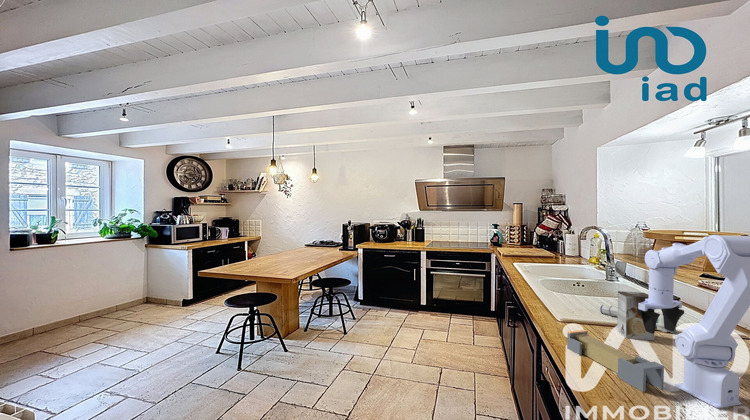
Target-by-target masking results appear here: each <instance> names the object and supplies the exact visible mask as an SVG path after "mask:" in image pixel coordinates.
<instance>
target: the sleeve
mask: <svg viewBox="0 0 750 420" xmlns="http://www.w3.org/2000/svg"><path fill="white" fill-rule="evenodd" d="M634 358H635V359H636V364H632V363H630V362H628V361H627V360H625V359H623V358H621V357H620V358H618V373H617V378H618V379H619V380H621V381H623V382H624V383H627V384H629V385H630V386H632V387H634V388H635V389H637V390H639V391H640V392H642V393H645V392H646V388H647V387H646V383H648V384H650V385H652V386H654V387H655V388H658V389H660V390H664V384H665V383H664V381H665V365H663V364H661V363H658V362H656V361H654V360H653V361H649V360H648V359H646V358H644V357H642V356H640V355H635V356H634Z"/></svg>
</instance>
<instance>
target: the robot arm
mask: <svg viewBox="0 0 750 420" xmlns="http://www.w3.org/2000/svg"><path fill="white" fill-rule="evenodd" d="M671 244H672V246H668V247H666V246H665V247H664V246H663V247H661V249H660V250H654V249H649V250H647V252H646V253H645V255H644V262H645V265H646V267H647V268H648V299H645V302H642V303H639V305H638V307H637V311H638V313H639V314H640V316H641V318H642V320H643V323H644V327H645V330H646V331H647V332H649V333H652V334H654V335H655V333H656V329H657V325H656V322H657V319H658V317H659V316H660V315H661V314H660V313H658V312H655V310H661V313H662V315H663V318H664V328H665V329H666V330H669V331H671V332H674V329H675V327H676V325H677V323H678V322H679V320H680V318H682V316H684V314H685V310H683V309H682V308H683V302H682V301H681V300H677V299H676V300H675V299H674V282H675V281H674V280H675V276H676V274H677V271H678V269H679V267H681V266H684V265H688V264H692V263H694V262H695V260H696V258H700V257H704V256H705V257H706V258H708V260H709V262H710V263H711V265H712V267H713V268H714V269H715V271H716V272H717V274H719V275H722V277H724V280H723V282H722V284H721V286H720V287H719V289H718V291H717V292H716V294H715V296H714V297H713V299H712V301H711V303H710V304H709V305H708V308H707V309H706V311H705V313H704V314H703V316H702V318H701V320H700V321H699V323H697V324H694V325H690V326H689V327H686V328H684V330H683V331H682V332H680V333H678V334H677V335H676V337H675V340H674V343H675V347H676V349H677V352H678V353H679V354H680V355H681V356H682V357H684V358H683V382H680V383H679V382H678V383H675V384H674V388H678V389H679V390H681V391H684V392H685V393H687V394H689V395H691V396H693V397H695V398H697V399H698V400H701V401H702V402H704V403H706V404H709V405H710V406H712V407H714V408H716V409H722V408H727V407H734V406H739V405H742V402H741V401H740V377H739V376H738V375H737V374H736V373H735V372H734V371H732V370H729V368H727V367H728V365H729V363H731V362H733V360H734V359H735V358H736V351H737V350H736V349H737V347H738V346H739V343H738V342H737V341H736V338H734V336H732V333H733V331H734V330H735V329H736V327H737V325H739V323H740V321H741V320H742V318H743V317H744V316H745V314H746V313H747V312H748V310H749V308H750V235H720V234H719V235H718V234H711V235H709V236H704V237H703V238H702V239H701V240H698V241H696V242H693V243H690V244H688V245H687V244H683V243H680V242H674V243H671ZM653 309H655V310H654V311H653ZM676 328H677V327H676ZM671 332H670V333H671Z"/></svg>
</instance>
